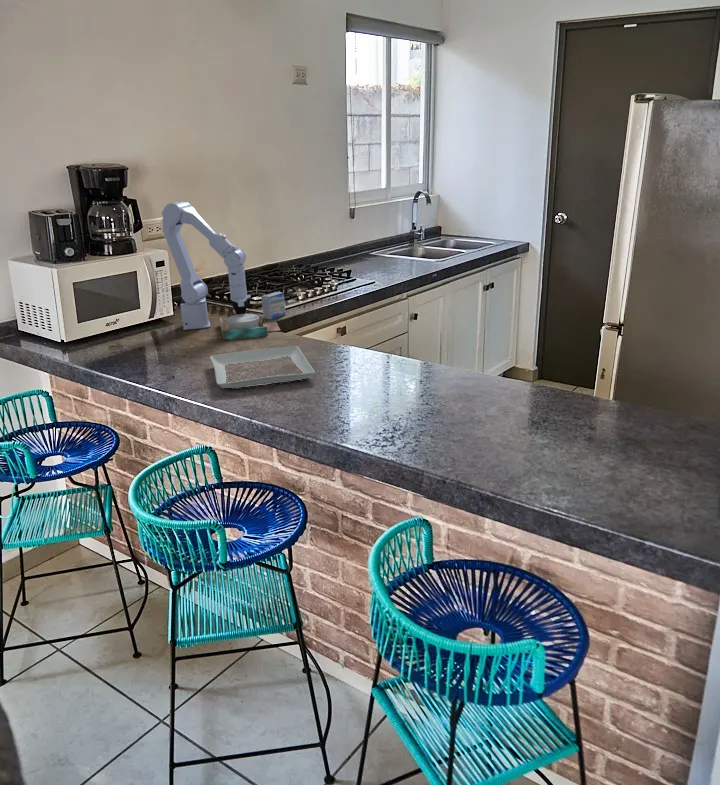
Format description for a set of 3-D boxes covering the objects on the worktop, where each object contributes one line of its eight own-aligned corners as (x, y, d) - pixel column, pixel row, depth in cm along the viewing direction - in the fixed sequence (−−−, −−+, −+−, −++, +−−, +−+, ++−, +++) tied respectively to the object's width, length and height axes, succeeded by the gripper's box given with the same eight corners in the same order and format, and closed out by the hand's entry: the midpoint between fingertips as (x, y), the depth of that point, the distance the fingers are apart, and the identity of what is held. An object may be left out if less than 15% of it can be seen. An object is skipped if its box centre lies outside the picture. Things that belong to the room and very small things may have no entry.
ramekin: (254, 336, 242) (253, 321, 240) (223, 336, 244) (221, 321, 242) (264, 327, 252) (263, 313, 250) (234, 327, 254) (232, 313, 252)
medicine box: (271, 319, 262) (269, 296, 259) (262, 318, 265) (260, 295, 262) (285, 315, 268) (284, 292, 265) (277, 313, 271) (275, 291, 268)
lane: (223, 340, 240) (222, 331, 239) (220, 325, 258) (219, 317, 257) (282, 334, 244) (281, 325, 243) (274, 319, 262) (274, 312, 261)
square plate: (218, 396, 190) (216, 383, 189) (210, 366, 215) (209, 354, 214) (317, 383, 197) (316, 370, 195) (298, 355, 222) (297, 343, 220)
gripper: (251, 287, 243) (254, 325, 248) (247, 279, 256) (250, 315, 261) (230, 289, 242) (234, 327, 247) (227, 281, 255) (231, 317, 260)
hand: (241, 321), depth 254 cm, fingers closed
